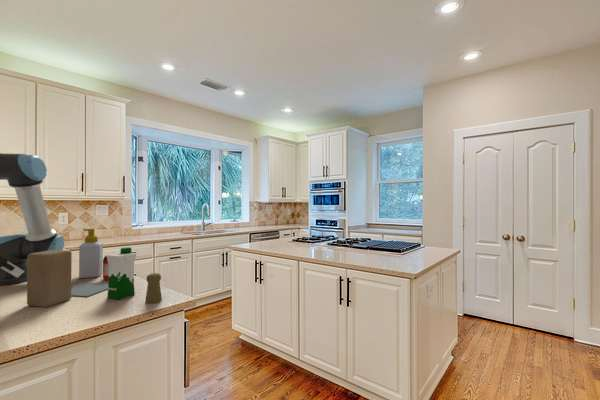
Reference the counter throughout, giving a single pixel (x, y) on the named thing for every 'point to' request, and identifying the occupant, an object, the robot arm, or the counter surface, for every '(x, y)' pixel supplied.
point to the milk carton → (121, 274)
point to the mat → (88, 289)
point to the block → (48, 277)
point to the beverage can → (105, 268)
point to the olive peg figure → (153, 289)
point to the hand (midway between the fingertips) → (20, 274)
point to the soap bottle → (90, 256)
